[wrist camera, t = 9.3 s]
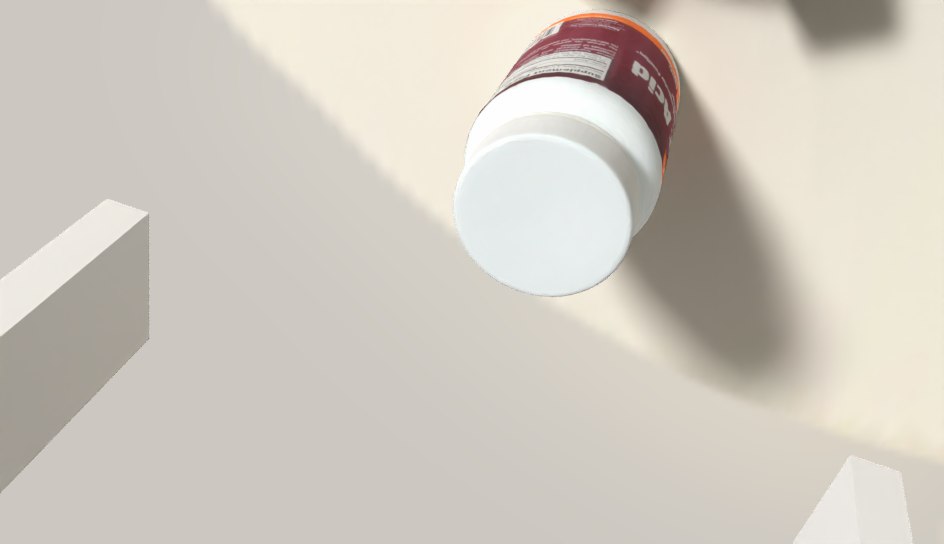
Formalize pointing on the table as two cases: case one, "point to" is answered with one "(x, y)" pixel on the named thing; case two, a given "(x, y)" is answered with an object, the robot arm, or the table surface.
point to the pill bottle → (569, 155)
